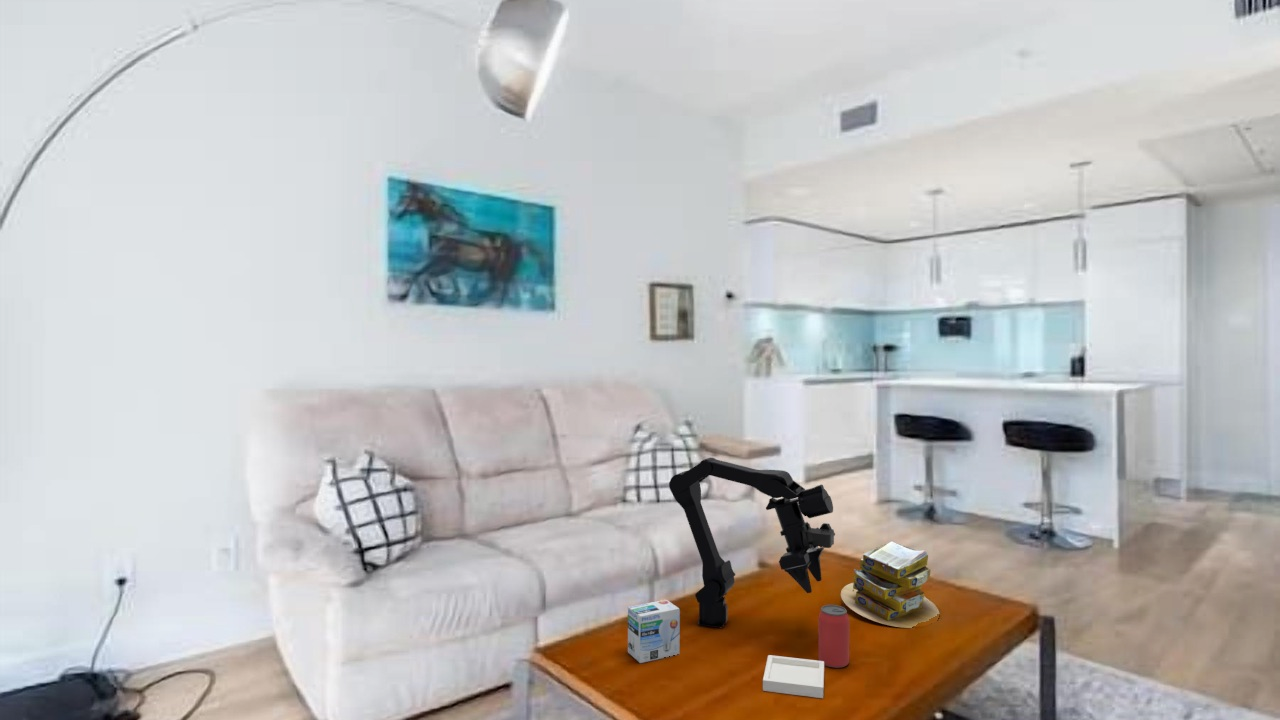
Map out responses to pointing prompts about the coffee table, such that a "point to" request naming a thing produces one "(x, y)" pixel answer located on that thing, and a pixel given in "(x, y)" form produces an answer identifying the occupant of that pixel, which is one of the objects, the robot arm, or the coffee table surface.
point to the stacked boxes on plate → (891, 587)
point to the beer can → (834, 636)
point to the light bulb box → (653, 630)
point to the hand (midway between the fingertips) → (814, 586)
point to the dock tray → (794, 676)
